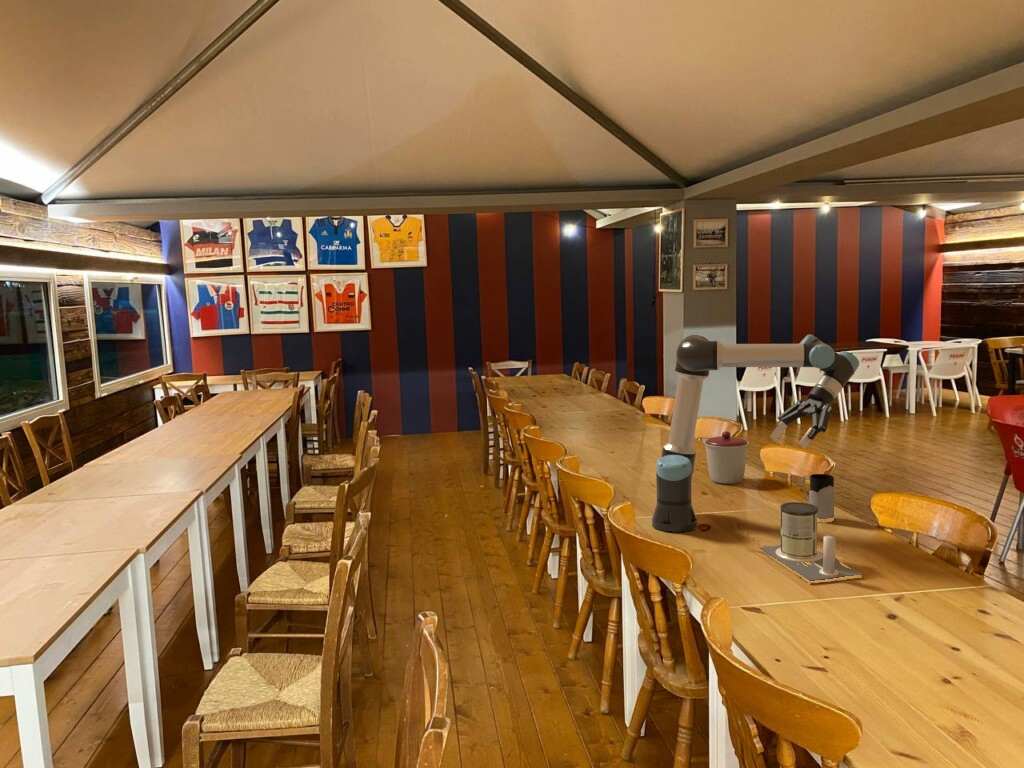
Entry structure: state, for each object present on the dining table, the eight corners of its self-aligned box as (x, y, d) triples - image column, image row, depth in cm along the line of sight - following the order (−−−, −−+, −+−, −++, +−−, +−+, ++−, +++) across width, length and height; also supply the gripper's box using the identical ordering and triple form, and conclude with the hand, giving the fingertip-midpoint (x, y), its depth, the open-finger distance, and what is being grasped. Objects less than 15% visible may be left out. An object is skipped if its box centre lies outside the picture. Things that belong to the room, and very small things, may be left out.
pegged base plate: (809, 584, 199) (809, 544, 198) (759, 551, 226) (759, 515, 224) (863, 578, 202) (863, 538, 201) (807, 546, 228) (807, 510, 227)
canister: (704, 486, 302) (703, 435, 299) (703, 475, 319) (703, 427, 317) (750, 487, 297) (750, 435, 295) (747, 476, 315) (747, 427, 312)
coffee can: (774, 548, 224) (774, 502, 222) (808, 546, 224) (808, 501, 222) (788, 560, 213) (789, 512, 212) (823, 558, 214) (824, 511, 212)
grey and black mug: (819, 524, 249) (819, 480, 247) (792, 512, 262) (792, 471, 260) (841, 521, 251) (841, 478, 249) (813, 509, 264) (813, 469, 263)
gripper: (860, 404, 233) (821, 456, 229) (803, 395, 256) (768, 442, 253) (847, 389, 230) (807, 441, 227) (791, 381, 254) (755, 428, 250)
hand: (786, 442), depth 240 cm, fingers open, 13 cm apart
